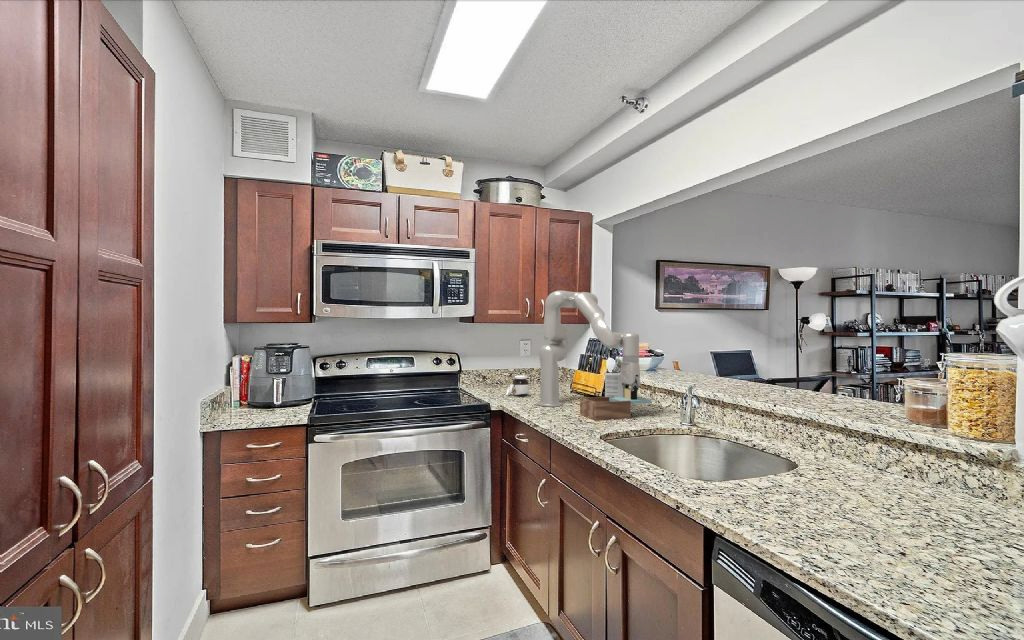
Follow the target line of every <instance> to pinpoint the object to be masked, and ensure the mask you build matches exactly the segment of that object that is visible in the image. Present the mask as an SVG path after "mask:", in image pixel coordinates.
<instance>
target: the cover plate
mask: <svg viewBox="0 0 1024 640" xmlns="http://www.w3.org/2000/svg"><path fill="white" fill-rule="evenodd" d="M631 391H632V389H631V387H629V388H624V390H623V397H612V398H609V401H611V402H613V401H631V405H639V404H640V405H642V404H643V405H644V404H653V403H652V401H653V400H652V399H649V398H646V397H641V396H638V395H637V399H636V400H631Z"/></svg>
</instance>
